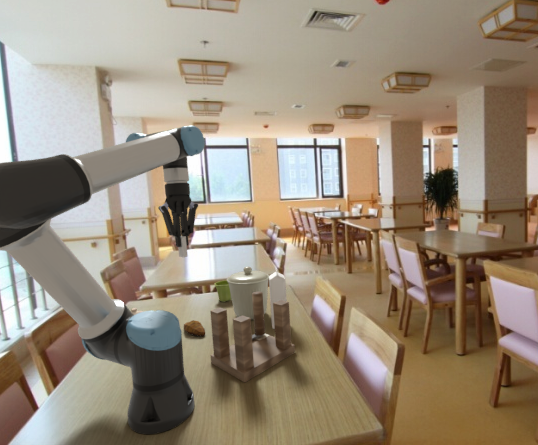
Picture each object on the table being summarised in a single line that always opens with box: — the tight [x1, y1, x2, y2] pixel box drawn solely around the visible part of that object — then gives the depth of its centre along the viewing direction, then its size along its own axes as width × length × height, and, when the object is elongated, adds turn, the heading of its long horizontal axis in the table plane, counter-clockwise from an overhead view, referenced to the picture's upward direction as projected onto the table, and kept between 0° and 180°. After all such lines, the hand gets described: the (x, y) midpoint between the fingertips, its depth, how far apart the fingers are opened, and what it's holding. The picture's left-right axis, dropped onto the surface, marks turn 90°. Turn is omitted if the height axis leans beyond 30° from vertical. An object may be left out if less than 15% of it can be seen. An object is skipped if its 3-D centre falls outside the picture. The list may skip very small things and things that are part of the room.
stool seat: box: [210, 300, 296, 383], centre depth 98 cm, size 21×16×16 cm
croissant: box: [183, 320, 206, 338], centre depth 121 cm, size 14×7×5 cm, turn 45°
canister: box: [226, 266, 270, 321], centre depth 133 cm, size 18×18×21 cm
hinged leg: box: [252, 291, 266, 340], centre depth 105 cm, size 11×4×15 cm, turn 134°
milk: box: [268, 268, 288, 330], centre depth 121 cm, size 6×6×22 cm
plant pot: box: [214, 279, 232, 303], centre depth 157 cm, size 9×9×9 cm
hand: (183, 256), depth 102 cm, fingers closed
